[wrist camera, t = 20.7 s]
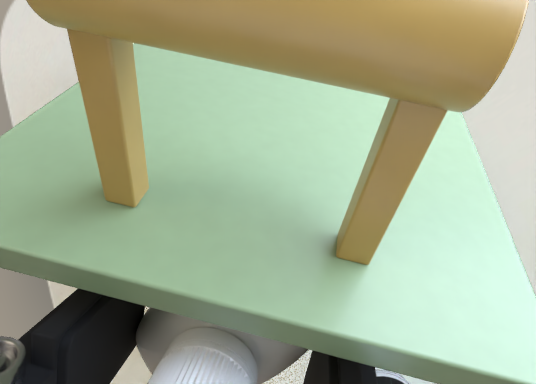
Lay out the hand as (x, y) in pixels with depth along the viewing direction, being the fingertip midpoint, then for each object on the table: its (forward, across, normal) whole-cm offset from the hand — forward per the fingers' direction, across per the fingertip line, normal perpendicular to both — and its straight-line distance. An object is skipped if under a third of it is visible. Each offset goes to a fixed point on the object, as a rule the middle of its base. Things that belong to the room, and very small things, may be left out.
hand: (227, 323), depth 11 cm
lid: (+3, 0, -6) cm, 6 cm away
